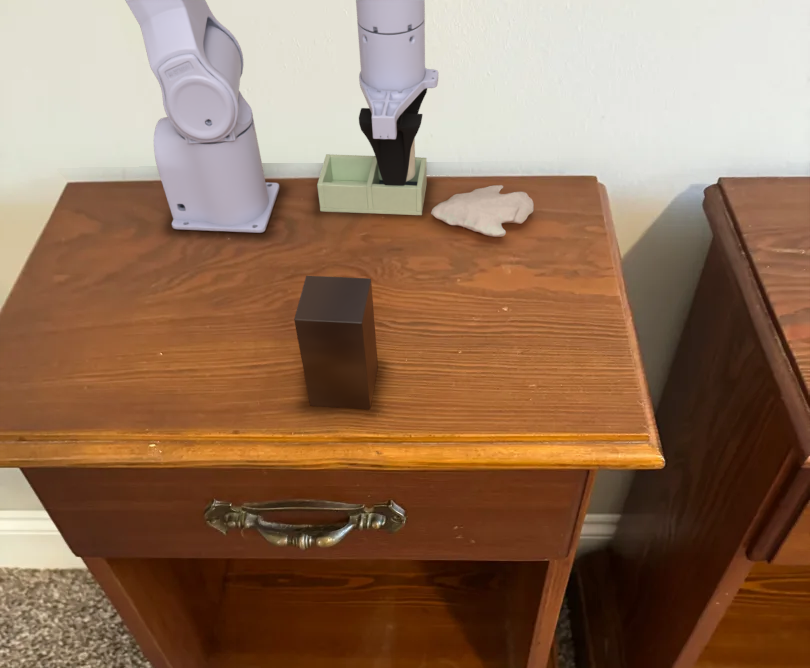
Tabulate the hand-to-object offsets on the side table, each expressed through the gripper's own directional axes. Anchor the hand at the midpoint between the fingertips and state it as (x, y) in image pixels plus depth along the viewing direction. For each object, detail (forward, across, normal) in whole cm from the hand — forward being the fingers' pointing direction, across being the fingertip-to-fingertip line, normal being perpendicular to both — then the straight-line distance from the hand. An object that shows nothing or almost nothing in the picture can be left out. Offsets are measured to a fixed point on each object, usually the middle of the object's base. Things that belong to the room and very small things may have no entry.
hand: (397, 171), depth 77 cm
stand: (+3, -27, +2) cm, 27 cm away
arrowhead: (+3, -3, -9) cm, 10 cm away
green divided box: (+3, 0, +2) cm, 4 cm away
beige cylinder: (0, 0, 0) cm, 0 cm away
